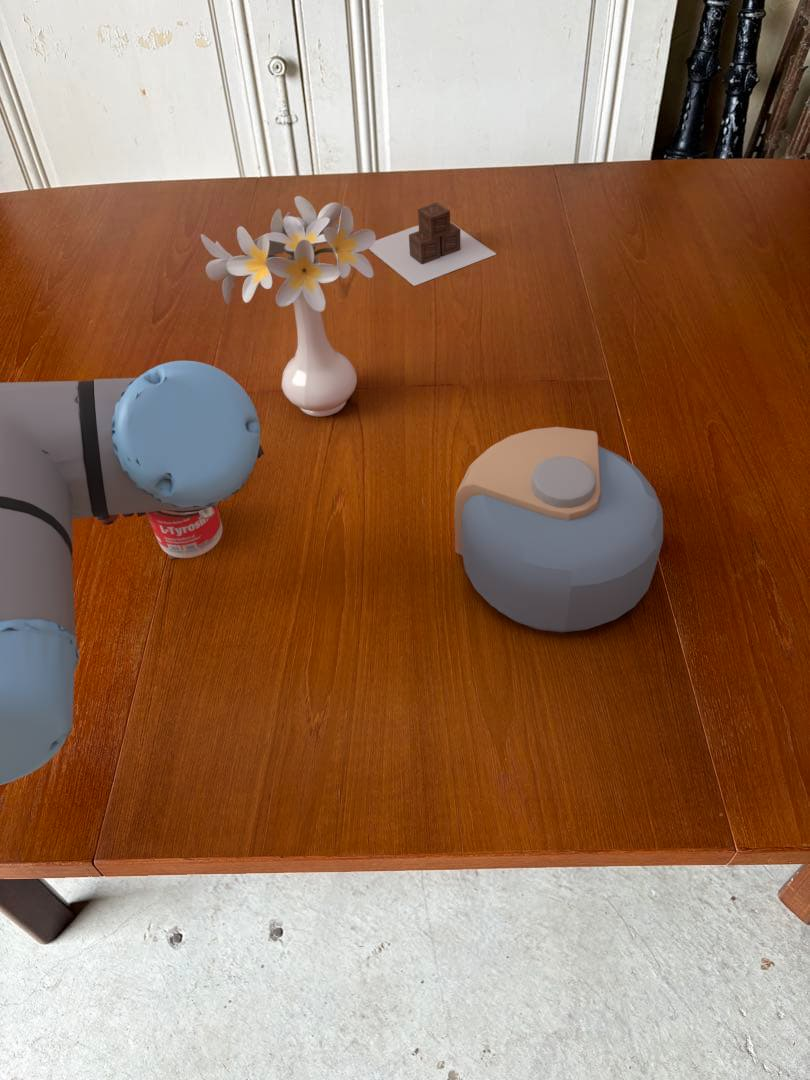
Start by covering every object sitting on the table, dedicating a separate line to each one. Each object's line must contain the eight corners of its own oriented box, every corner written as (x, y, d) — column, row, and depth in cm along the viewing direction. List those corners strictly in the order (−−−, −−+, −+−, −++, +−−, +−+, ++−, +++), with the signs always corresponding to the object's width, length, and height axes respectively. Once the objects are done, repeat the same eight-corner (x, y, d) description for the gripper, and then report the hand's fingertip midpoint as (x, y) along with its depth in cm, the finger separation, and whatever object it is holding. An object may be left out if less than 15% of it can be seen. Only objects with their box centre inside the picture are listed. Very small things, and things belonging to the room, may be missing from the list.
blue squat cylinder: (574, 469, 92) (585, 383, 83) (692, 591, 80) (721, 506, 71) (425, 532, 87) (420, 448, 78) (527, 672, 75) (536, 591, 66)
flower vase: (241, 386, 106) (192, 199, 87) (379, 362, 108) (361, 173, 89) (250, 452, 97) (198, 260, 79) (400, 423, 99) (385, 229, 80)
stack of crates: (442, 216, 133) (441, 174, 128) (496, 254, 124) (498, 211, 119) (363, 245, 128) (359, 202, 123) (413, 286, 120) (411, 242, 114)
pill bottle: (167, 569, 76) (130, 484, 67) (153, 525, 79) (117, 440, 71) (231, 547, 77) (203, 461, 69) (215, 505, 81) (186, 419, 73)
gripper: (65, 568, 53) (89, 565, 75) (327, 461, 59) (278, 487, 81) (16, 462, 53) (54, 490, 75) (286, 363, 58) (247, 416, 80)
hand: (170, 488), depth 78 cm, fingers closed on pill bottle, 6 cm apart
